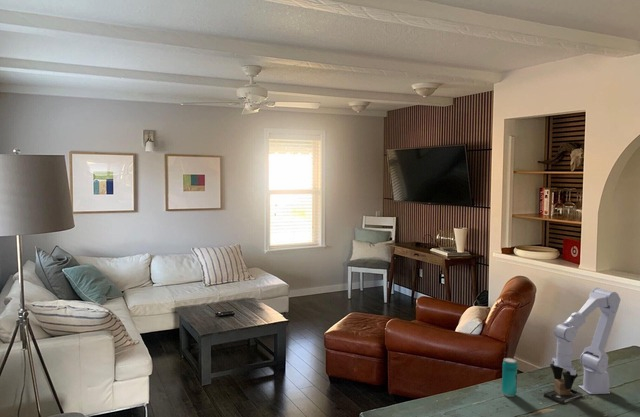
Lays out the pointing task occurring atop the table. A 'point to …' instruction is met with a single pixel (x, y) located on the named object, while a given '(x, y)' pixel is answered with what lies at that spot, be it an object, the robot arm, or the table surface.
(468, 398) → the table surface
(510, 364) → the beverage can
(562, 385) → the walnut block
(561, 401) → the vhs tape
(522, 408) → the table surface
